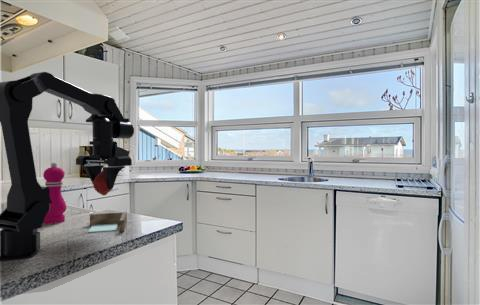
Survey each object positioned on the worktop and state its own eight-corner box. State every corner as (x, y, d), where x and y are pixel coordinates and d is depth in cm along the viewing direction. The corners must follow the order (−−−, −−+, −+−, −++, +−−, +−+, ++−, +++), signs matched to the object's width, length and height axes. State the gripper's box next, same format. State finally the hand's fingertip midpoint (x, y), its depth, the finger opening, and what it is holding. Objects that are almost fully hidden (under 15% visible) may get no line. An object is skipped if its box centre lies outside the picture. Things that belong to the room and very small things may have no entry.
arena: (82, 235, 81) (82, 222, 81) (90, 224, 93) (90, 213, 93) (123, 231, 84) (124, 220, 84) (126, 222, 96) (126, 211, 96)
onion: (105, 197, 84) (105, 170, 84) (89, 196, 85) (88, 170, 85) (118, 194, 90) (117, 168, 89) (102, 193, 91) (101, 168, 91)
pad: (87, 232, 83) (87, 231, 83) (92, 226, 91) (92, 225, 91) (115, 230, 86) (115, 229, 86) (118, 224, 93) (118, 223, 93)
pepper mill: (68, 218, 101) (68, 162, 101) (63, 223, 94) (64, 162, 94) (44, 219, 98) (44, 162, 98) (38, 225, 92) (38, 163, 91)
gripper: (145, 138, 90) (145, 187, 90) (105, 138, 98) (106, 183, 99) (115, 137, 80) (116, 192, 80) (74, 138, 89) (75, 188, 89)
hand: (103, 188), depth 87 cm, fingers closed on onion, 6 cm apart
